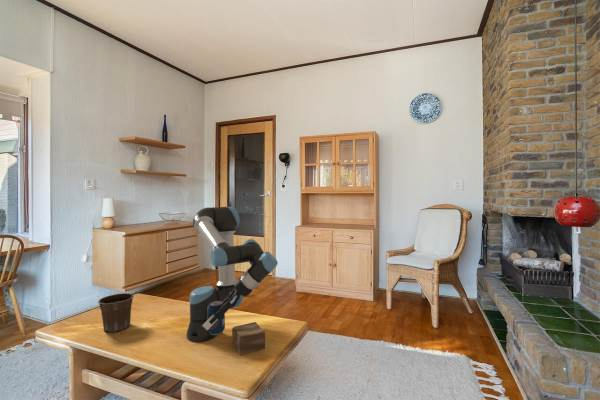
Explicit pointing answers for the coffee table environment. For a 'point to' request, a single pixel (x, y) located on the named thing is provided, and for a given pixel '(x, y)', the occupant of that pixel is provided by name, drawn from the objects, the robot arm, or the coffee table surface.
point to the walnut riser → (248, 338)
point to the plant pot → (116, 311)
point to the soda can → (219, 324)
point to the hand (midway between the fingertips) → (207, 323)
